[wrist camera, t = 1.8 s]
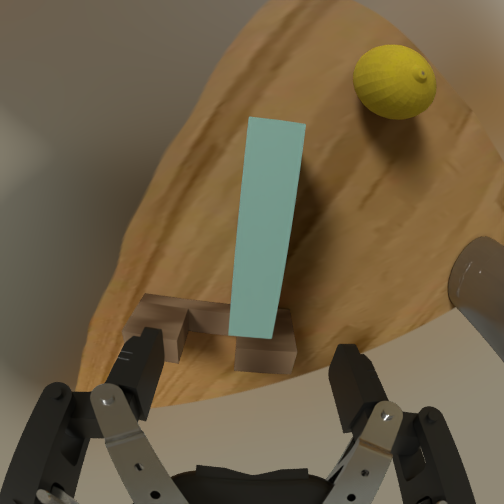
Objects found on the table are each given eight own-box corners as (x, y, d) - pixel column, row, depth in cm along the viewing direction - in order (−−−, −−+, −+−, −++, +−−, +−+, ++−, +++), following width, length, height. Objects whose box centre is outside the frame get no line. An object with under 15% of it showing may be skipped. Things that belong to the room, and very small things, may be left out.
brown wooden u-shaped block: (289, 309, 26) (297, 352, 20) (284, 330, 27) (290, 374, 21) (144, 293, 26) (121, 330, 20) (147, 315, 27) (126, 353, 21)
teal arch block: (251, 126, 20) (249, 116, 12) (285, 131, 20) (305, 124, 12) (236, 269, 24) (228, 335, 16) (266, 272, 25) (271, 338, 16)
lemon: (378, 134, 20) (432, 137, 12) (327, 89, 19) (363, 66, 11) (410, 92, 18) (467, 81, 11) (363, 48, 17) (407, 16, 9)
